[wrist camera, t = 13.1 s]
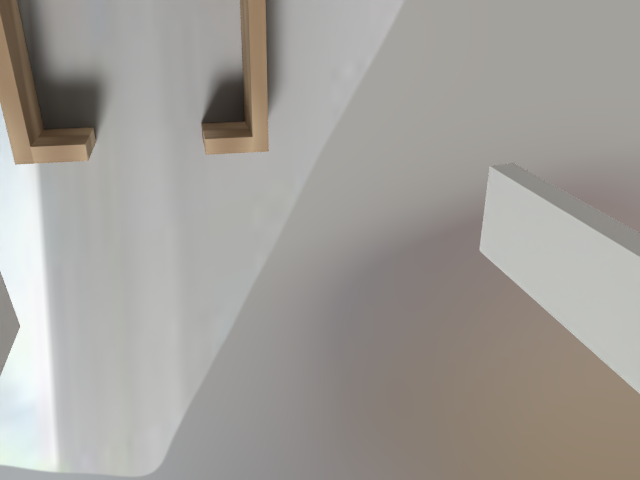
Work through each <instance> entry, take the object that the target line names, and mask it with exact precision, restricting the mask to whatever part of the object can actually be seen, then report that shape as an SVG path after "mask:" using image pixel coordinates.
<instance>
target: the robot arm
mask: <svg viewBox="0 0 640 480" xmlns="http://www.w3.org/2000/svg"><path fill="white" fill-rule="evenodd" d="M480 252H482V253H483V254H484V255H485V256H486V257H487V258H488V259H489V260H490V261H492V262H493V263H494V264H495V265H496V266H497V267H498V268H499V269H501V270H502V271H503V272H504V273H505V274H506V275H508V277H510V278H511V279H512V280H513V281H514V282H515V283H516V284H517V285H518V286H520V287H521V288H522V289H523V290H524V291H525V292H526V293H527V294H529V295H530V296H531V297H532V298H533V299H534V300H535V301H536V302H538V303H539V304H540V305H541V306H542V307H543V308H544V309H545V310H547V311H548V312H549V313H550V314H551V315H552V316H553V317H554V318H555V319H557V320H558V321H559V322H560V323H561V324H562V325H563V326H564V327H566V328H567V329H568V330H569V331H570V332H571V333H572V334H573V335H574V336H576V337H577V338H578V339H579V340H580V341H581V342H582V343H584V344H585V345H586V346H587V347H588V348H589V349H590V350H591V351H593V352H594V353H595V354H596V355H597V356H598V357H599V358H600V359H602V361H604V362H605V363H606V364H607V365H608V366H609V367H610V368H611V369H613V370H614V371H615V372H616V373H617V374H618V375H619V376H620V377H622V378H623V379H624V380H625V381H626V382H627V383H628V384H629V385H630V386H632V387H633V388H634V389H635V390H636V391H637V392H638V393H639V394H640V233H639V232H637V231H635V230H633V229H631V228H630V227H628V226H626V225H624V224H622V223H620V222H619V221H617V220H615V219H613V218H612V217H610V216H608V215H606V214H604V213H603V212H601V211H599V210H597V209H595V208H594V207H592V206H590V205H588V204H586V203H585V202H583V201H581V200H579V199H577V198H576V197H574V196H572V195H570V194H568V193H566V192H565V191H563V190H561V189H559V188H558V187H556V186H554V185H552V184H550V183H548V182H547V181H545V180H543V179H541V178H540V177H537V176H536V175H534V174H532V173H530V172H528V171H527V170H525V169H523V168H521V167H520V166H518V165H516V164H514V163H510V164H502V165H494V166H490V168H489V175H488V184H487V192H486V200H485V209H484V217H483V225H482V234H481V242H480ZM19 328H20V325H19V322H18V319H17V316H16V314H15V311H14V308H13V305H12V302H11V300H10V297H9V294H8V291H7V289H6V286H5V283H4V280H3V278H2V275H1V272H0V375H1V372H2V370H3V367H4V365H5V363H6V360H7V358H8V355H9V353H10V350H11V348H12V345H13V343H14V340H15V338H16V335H17V333H18V330H19Z"/></svg>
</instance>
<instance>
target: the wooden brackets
mask: <svg viewBox="0 0 640 480" xmlns="http://www.w3.org/2000/svg"><path fill="white" fill-rule="evenodd" d="M240 10H241V36H242V61H243V87H244V112H245V122H222V123H201V124H202V137H203V142H204V147H205V151H206V155H207V154H226V153H246V152H265V151H269V149H268V99H267V48H266V0H240ZM0 103H1V107H2V111H3V115H4V119H5V124H6V128H7V132H8V136H9V140H10V144H11V148H12V153H13V157H14V161H15V164H33V163H52V162H72V161H88V160H89V158H90V155H91V153H92V150H93V148H94V146H95V143H96V140H95V134H94V128H93V127H91V128H65V129H44V127H43V122H42V117H41V112H40V108H39V103H38V98H37V93H36V89H35V84H34V79H33V74H32V70H31V65H30V60H29V55H28V51H27V46H26V41H25V36H24V32H23V27H22V22H21V17H20V13H19V8H18V3H17V0H0Z"/></svg>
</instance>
